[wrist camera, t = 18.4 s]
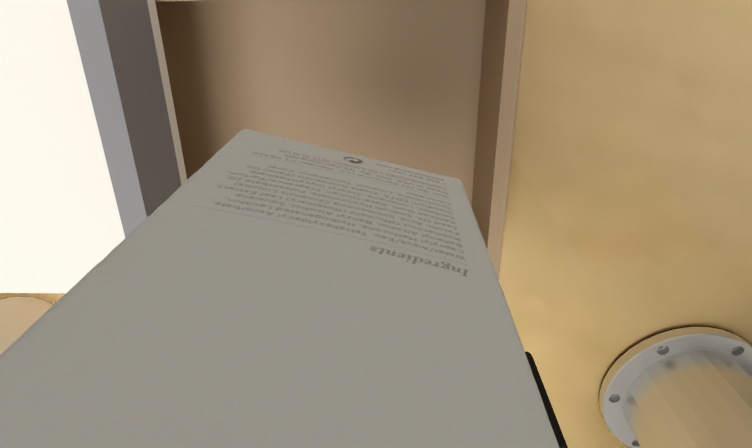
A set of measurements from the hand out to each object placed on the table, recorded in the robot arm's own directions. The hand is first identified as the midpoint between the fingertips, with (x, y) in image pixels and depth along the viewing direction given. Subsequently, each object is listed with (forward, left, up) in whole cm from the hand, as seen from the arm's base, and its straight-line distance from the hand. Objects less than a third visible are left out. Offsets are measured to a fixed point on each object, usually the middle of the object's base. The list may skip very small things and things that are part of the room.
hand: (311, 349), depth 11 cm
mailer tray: (+3, 0, -23) cm, 23 cm away
